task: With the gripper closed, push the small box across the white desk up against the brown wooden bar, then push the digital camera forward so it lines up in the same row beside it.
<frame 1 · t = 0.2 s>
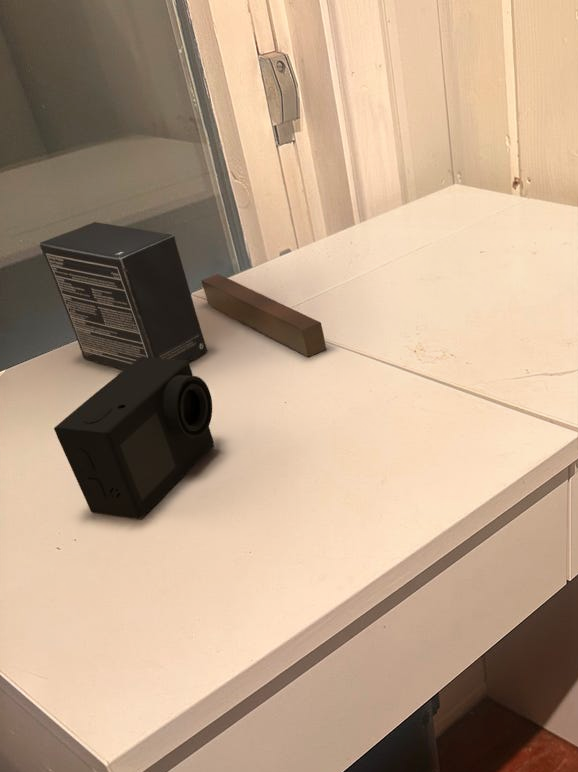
brown wooden bar: (264, 325, 86), on the table
small box: (147, 357, 84), on the table
digital camera: (163, 480, 68), on the table
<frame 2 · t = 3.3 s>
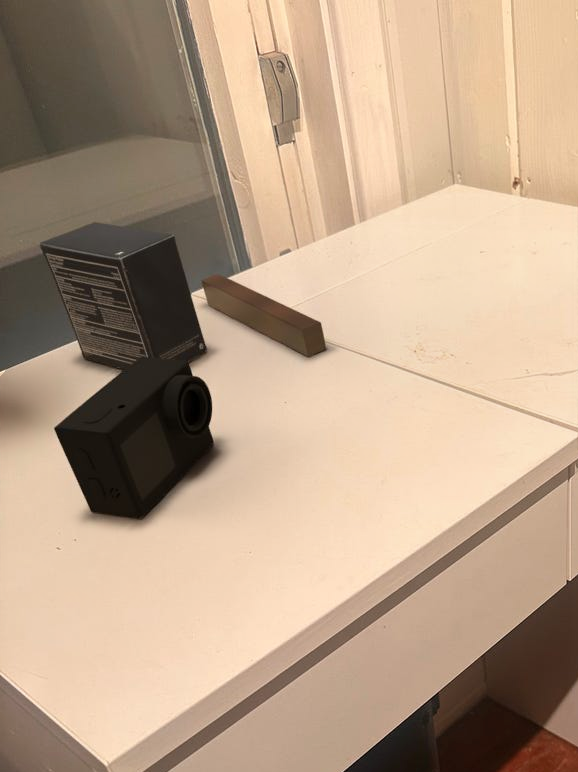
nothing on the table moved.
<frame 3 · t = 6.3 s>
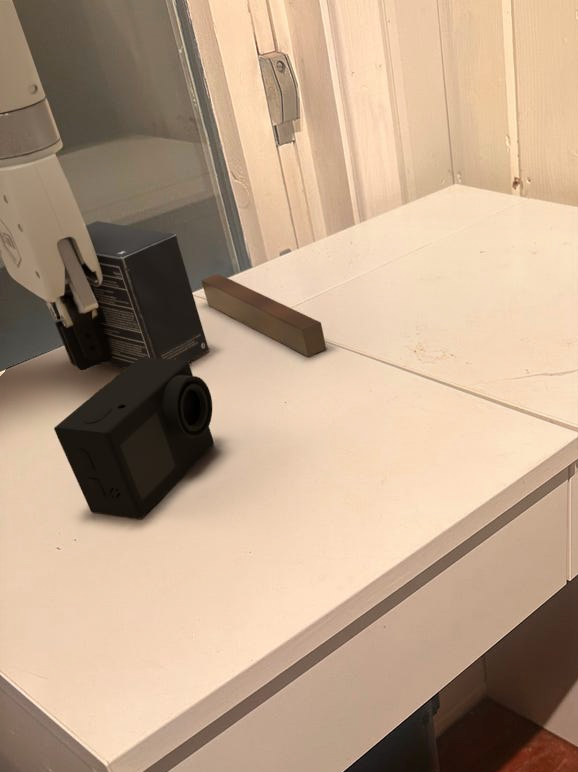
hand: (93, 362, 81), 1 cm above the table, tool pointing down, fingers closed
small box: (149, 356, 84), on the table, touching gripper
everything else where it was.
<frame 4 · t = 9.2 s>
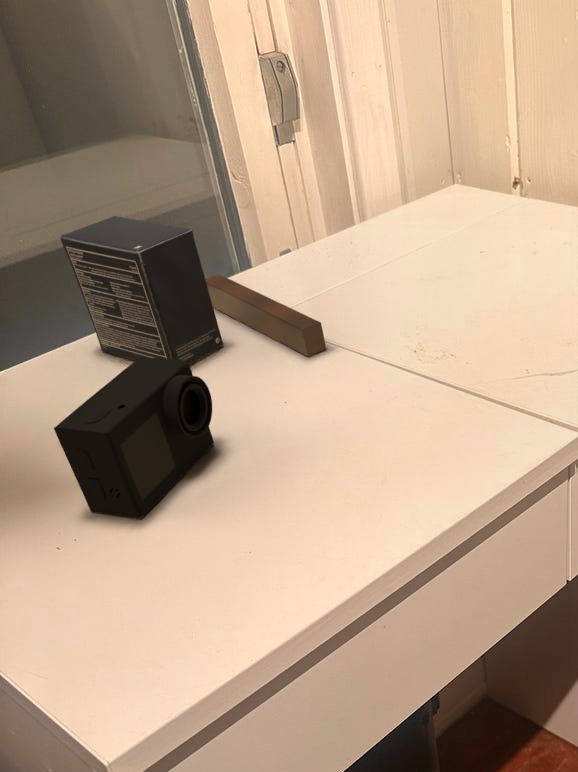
small box: (164, 350, 84), on the table
everything else where it was.
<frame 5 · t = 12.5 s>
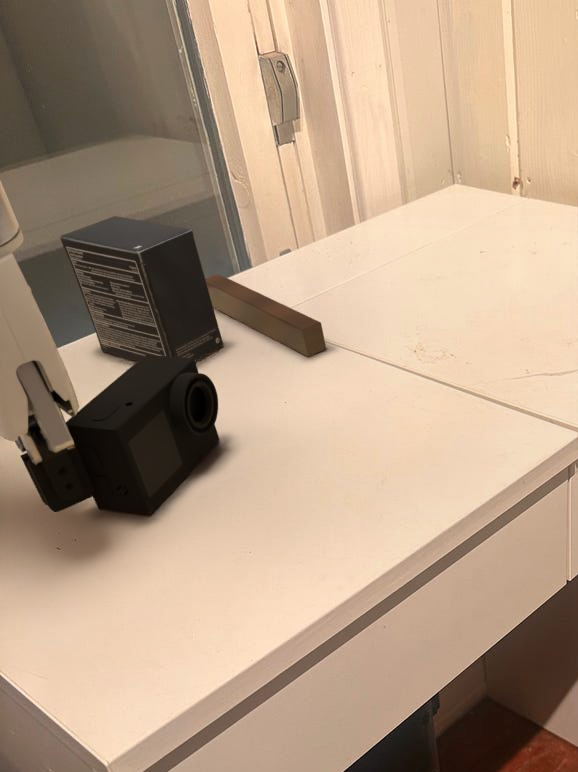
hand: (70, 499, 63), 2 cm above the table, tool pointing down, fingers closed
digital camera: (169, 477, 68), on the table, touching gripper
everything else where it was.
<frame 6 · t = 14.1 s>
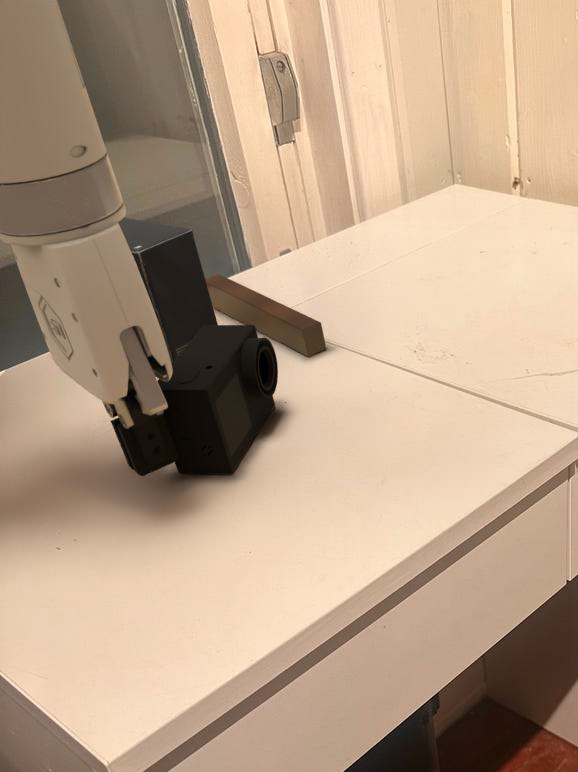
hand: (154, 464, 66), 1 cm above the table, tool pointing down, fingers closed
digital camera: (237, 441, 71), on the table, touching gripper
everything else where it was.
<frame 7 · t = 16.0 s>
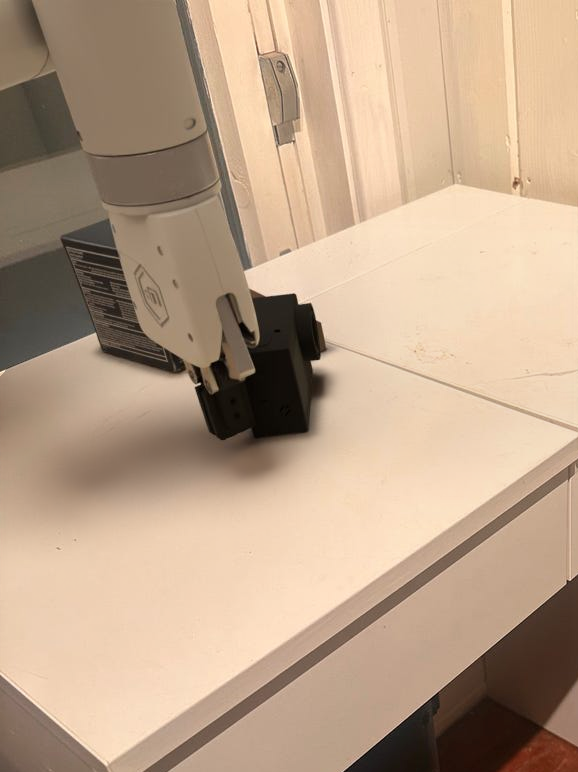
hand: (233, 429, 70), 1 cm above the table, tool pointing down, fingers closed
digital camera: (292, 405, 75), on the table, touching gripper
everything else where it was.
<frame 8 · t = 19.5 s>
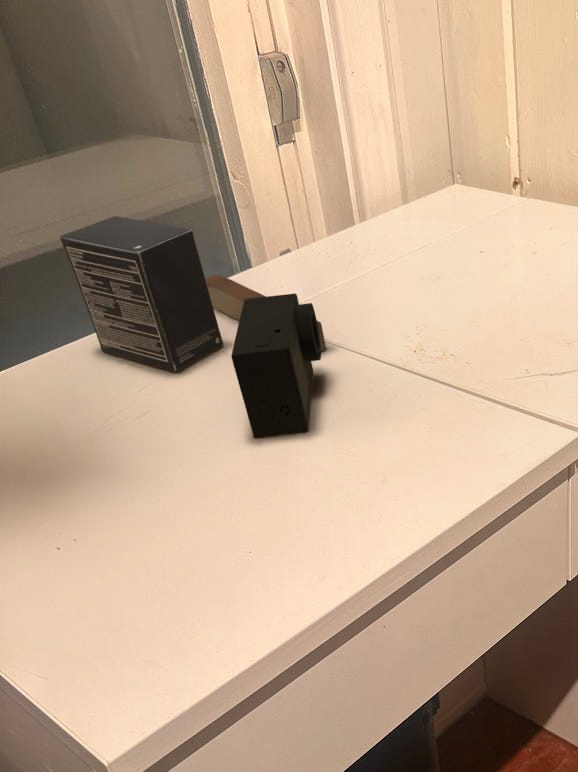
digital camera: (293, 405, 75), on the table
everything else where it was.
at the end: small box 1.6 cm from the target spot on the table beside the brown wooden bar, on the table; digital camera 2.1 cm from the target spot on the table beside the brown wooden bar, on the table; small box tilted 0° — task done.
